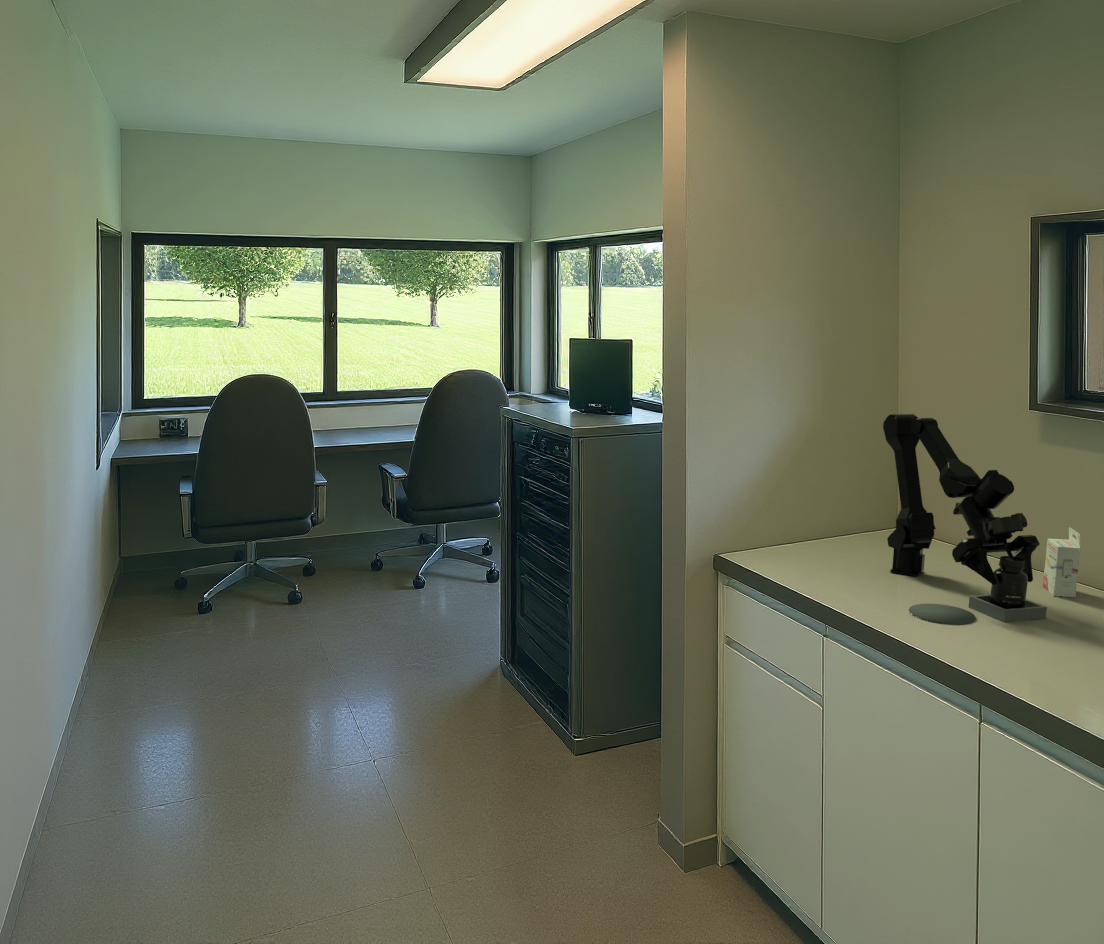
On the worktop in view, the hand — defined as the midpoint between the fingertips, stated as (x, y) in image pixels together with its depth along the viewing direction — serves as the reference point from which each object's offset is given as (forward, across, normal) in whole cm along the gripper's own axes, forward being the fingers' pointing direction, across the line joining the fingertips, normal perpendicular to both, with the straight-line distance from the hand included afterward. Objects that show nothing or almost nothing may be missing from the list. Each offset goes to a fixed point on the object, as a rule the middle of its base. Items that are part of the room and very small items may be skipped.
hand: (1013, 582), depth 201 cm
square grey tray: (+4, 0, +6) cm, 7 cm away
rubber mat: (+2, -15, +7) cm, 17 cm away
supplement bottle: (+4, 0, +6) cm, 7 cm away
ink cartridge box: (-3, +24, +13) cm, 27 cm away
